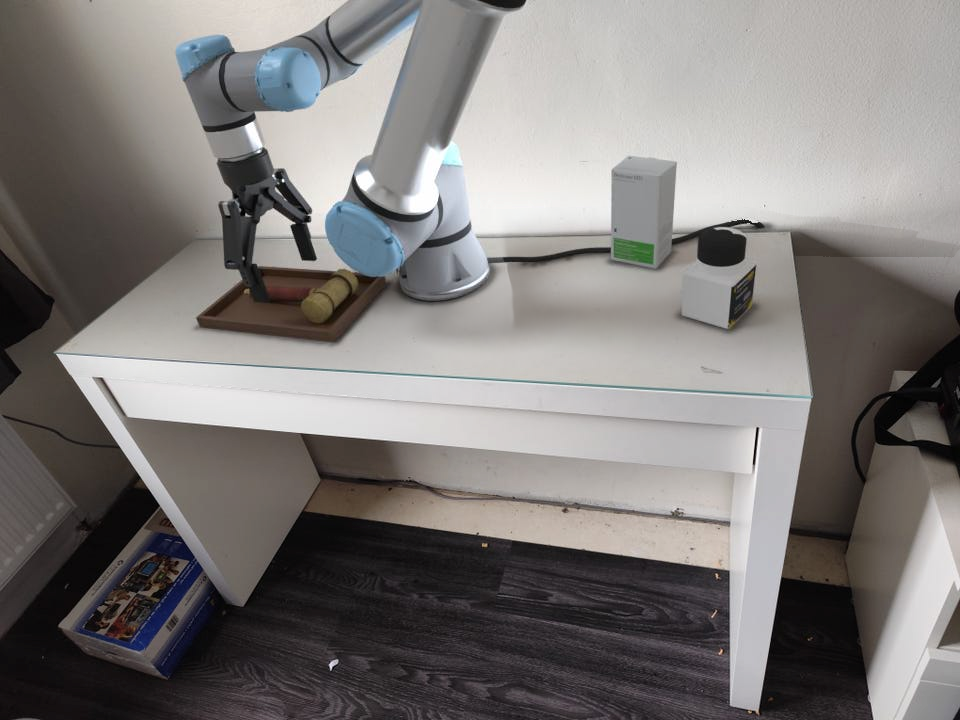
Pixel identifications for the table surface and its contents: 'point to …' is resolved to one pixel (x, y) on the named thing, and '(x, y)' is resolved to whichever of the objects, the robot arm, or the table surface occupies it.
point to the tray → (288, 306)
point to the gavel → (317, 295)
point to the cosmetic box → (642, 210)
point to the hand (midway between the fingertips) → (287, 279)
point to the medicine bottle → (719, 279)
